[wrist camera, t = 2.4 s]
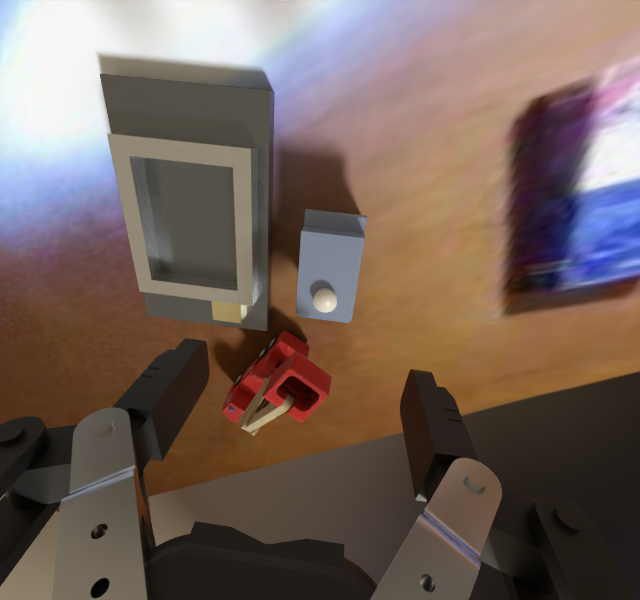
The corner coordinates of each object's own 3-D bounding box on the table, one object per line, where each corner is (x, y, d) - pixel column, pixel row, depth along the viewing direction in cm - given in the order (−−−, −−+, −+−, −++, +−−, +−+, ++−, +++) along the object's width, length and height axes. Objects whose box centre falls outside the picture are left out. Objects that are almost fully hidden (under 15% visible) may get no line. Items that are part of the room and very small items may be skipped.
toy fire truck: (230, 384, 33) (186, 470, 24) (309, 298, 27) (288, 372, 19) (256, 400, 34) (222, 490, 25) (338, 320, 28) (330, 401, 19)
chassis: (274, 92, 20) (263, 87, 18) (270, 324, 29) (262, 341, 26) (112, 77, 21) (81, 69, 18) (155, 309, 29) (137, 324, 27)
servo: (365, 205, 23) (368, 224, 18) (350, 300, 27) (349, 336, 22) (312, 199, 23) (300, 217, 18) (304, 294, 27) (293, 329, 22)
